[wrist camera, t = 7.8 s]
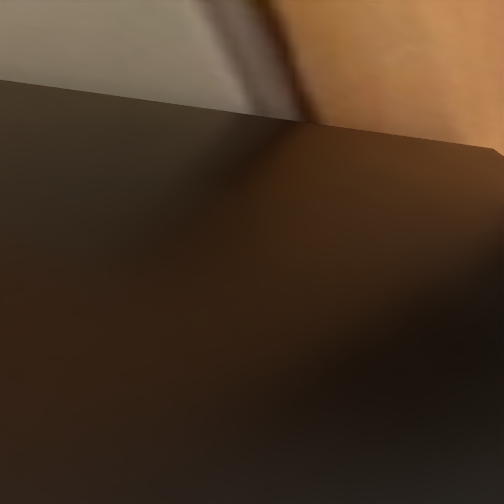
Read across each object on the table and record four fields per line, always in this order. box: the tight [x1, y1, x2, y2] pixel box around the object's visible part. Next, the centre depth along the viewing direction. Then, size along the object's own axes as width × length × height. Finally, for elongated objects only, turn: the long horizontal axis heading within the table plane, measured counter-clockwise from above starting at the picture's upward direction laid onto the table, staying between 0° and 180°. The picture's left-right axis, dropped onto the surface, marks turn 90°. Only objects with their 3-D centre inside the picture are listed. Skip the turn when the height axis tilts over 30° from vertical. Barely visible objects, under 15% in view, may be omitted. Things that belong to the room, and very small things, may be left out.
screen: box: [0, 80, 504, 504], centre depth 11 cm, size 14×20×1 cm
